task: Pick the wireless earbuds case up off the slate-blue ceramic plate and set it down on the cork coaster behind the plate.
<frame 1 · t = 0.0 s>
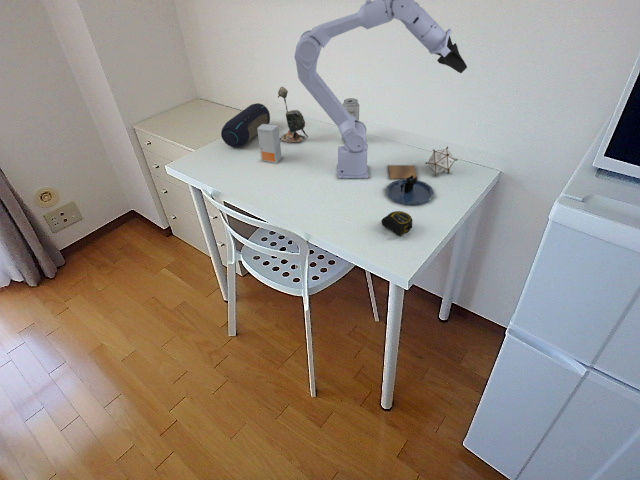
hand: (461, 65, 107), 32 cm above the table, tool tilted 50°, fingers open, 7 cm apart
energy drink can: (350, 141, 149), on the table
tape measure: (397, 231, 104), on the table
wireless earbuds: (409, 192, 118), resting on plate
plant with pod: (294, 140, 151), on the table
cork coaster: (402, 172, 128), on the table
game die: (439, 173, 127), on the table
plate: (409, 193, 118), on the table
portable speaker: (249, 137, 155), on the table
cosmetic box: (271, 160, 139), on the table
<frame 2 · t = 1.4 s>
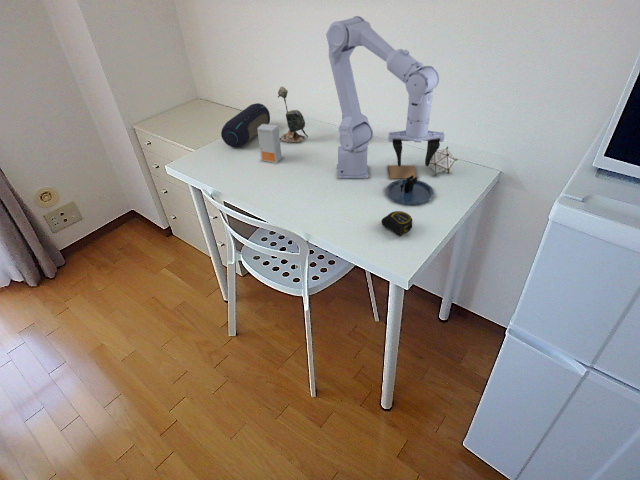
hand: (412, 164, 113), 9 cm above the table, tool pointing down, fingers open, 7 cm apart
nothing on the table moved.
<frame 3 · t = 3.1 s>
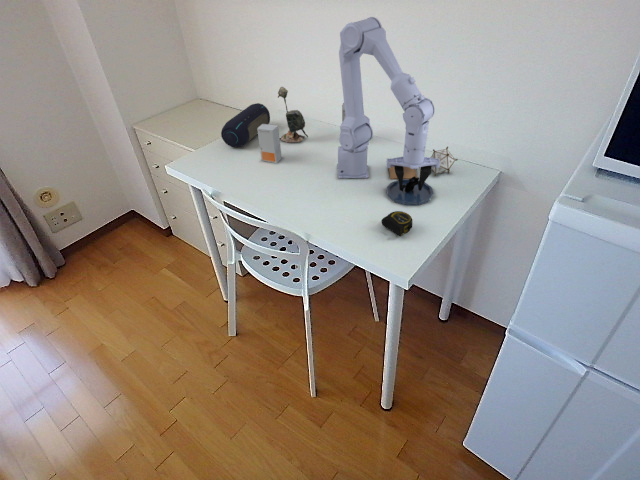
hand: (409, 188, 117), 2 cm above the table, tool pointing down, fingers closed on wireless earbuds, 5 cm apart
wireless earbuds: (409, 192, 118), resting on plate, touching gripper
everything else where it was.
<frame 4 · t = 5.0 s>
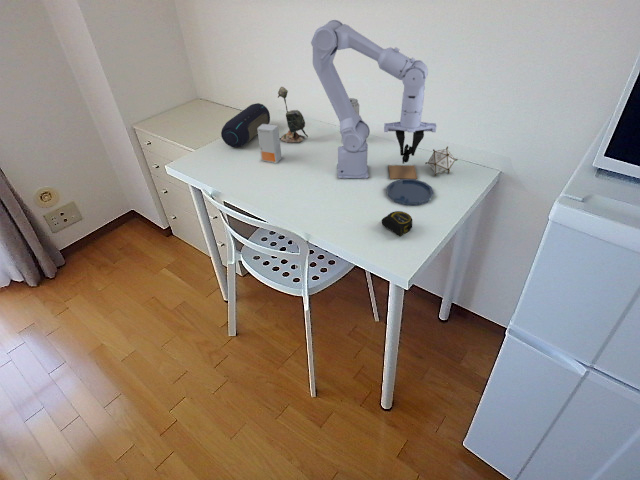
hand: (406, 154, 120), 9 cm above the table, tool pointing down, fingers closed on wireless earbuds, 2 cm apart
wireless earbuds: (408, 161, 120), point 7 cm above the table, touching gripper
everything else where it was.
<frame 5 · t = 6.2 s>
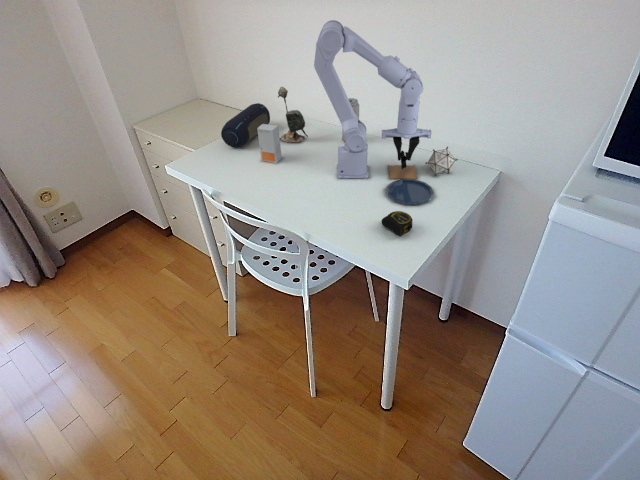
hand: (403, 159, 125), 5 cm above the table, tool pointing down, fingers closed on wireless earbuds, 2 cm apart
wireless earbuds: (405, 166, 126), point 3 cm above the table, touching gripper
everything else where it was.
when the fingers open (3 cm above the table, at t = 6.9 s): wireless earbuds stays where it is, resting on cork coaster.
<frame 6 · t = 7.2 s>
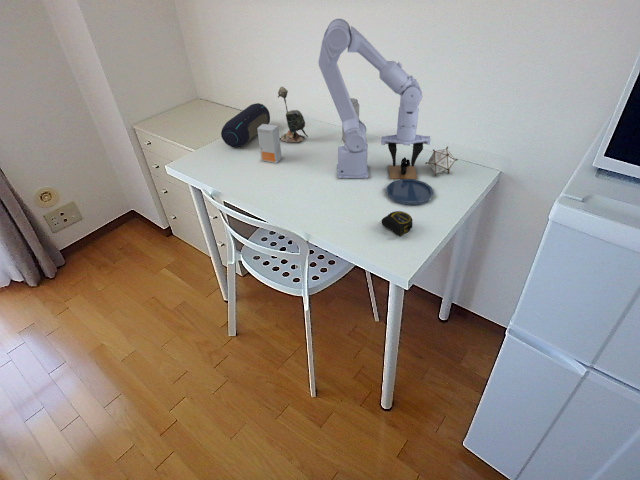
hand: (403, 164, 127), 3 cm above the table, tool pointing down, fingers open, 5 cm apart
wireless earbuds: (404, 173, 127), resting on cork coaster
everything else where it was.
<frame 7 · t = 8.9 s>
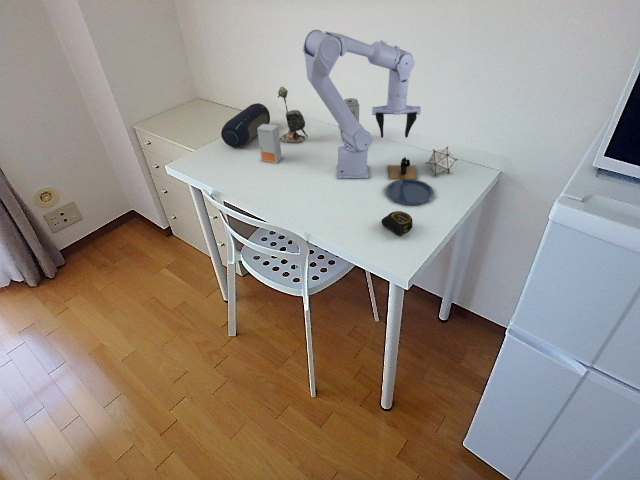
hand: (394, 136, 128), 9 cm above the table, tool pointing down, fingers open, 7 cm apart
nothing on the table moved.
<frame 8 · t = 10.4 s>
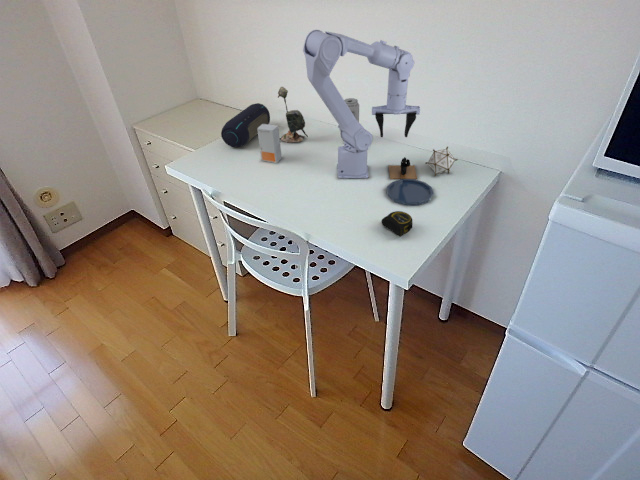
hand: (393, 135, 128), 9 cm above the table, tool pointing down, fingers open, 7 cm apart
nothing on the table moved.
at the end: wireless earbuds inside the target area on the cork coaster (1.1 cm from its centre), point 0.2 cm above the cork coaster's base; wireless earbuds touching cork coaster; the gripper is holding nothing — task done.
